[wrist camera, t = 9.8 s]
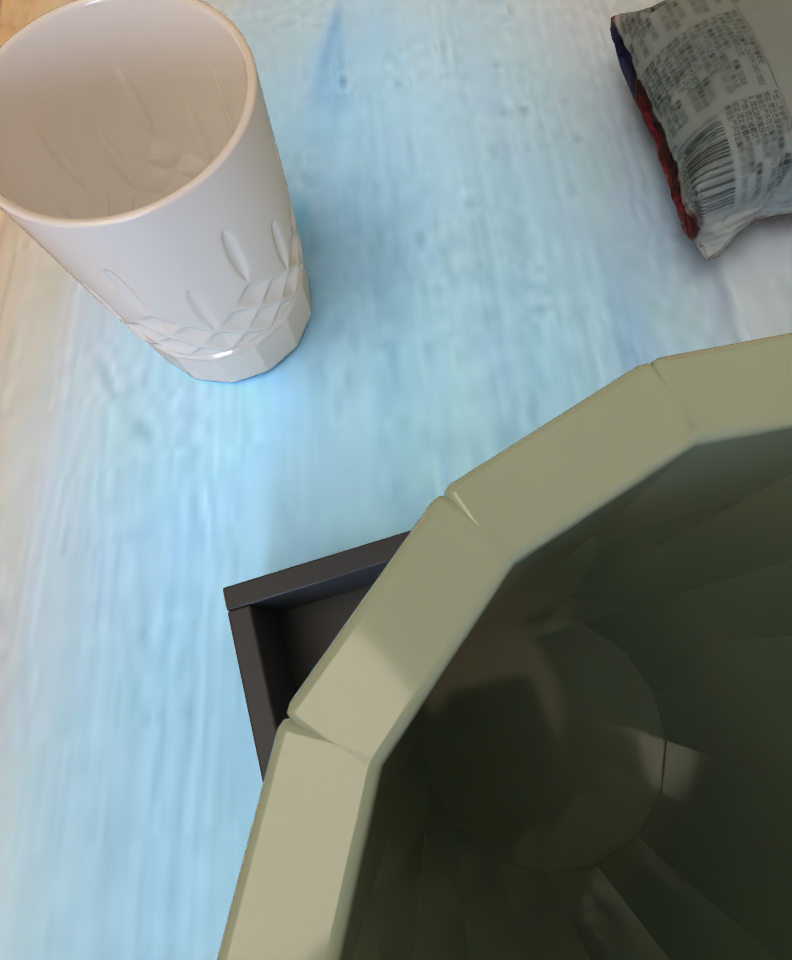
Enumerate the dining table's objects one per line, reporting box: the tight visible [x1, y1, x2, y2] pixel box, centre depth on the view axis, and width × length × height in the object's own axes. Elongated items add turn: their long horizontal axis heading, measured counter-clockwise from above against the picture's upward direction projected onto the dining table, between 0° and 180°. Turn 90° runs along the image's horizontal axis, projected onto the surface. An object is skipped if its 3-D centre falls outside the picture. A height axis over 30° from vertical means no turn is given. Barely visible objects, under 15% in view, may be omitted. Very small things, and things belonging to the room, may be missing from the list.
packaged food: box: [610, 0, 792, 261], centre depth 23 cm, size 9×12×5 cm
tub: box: [223, 531, 411, 782], centre depth 18 cm, size 12×12×4 cm
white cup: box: [0, 0, 311, 383], centre depth 21 cm, size 8×8×10 cm
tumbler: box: [217, 333, 792, 960], centre depth 8 cm, size 6×6×13 cm
